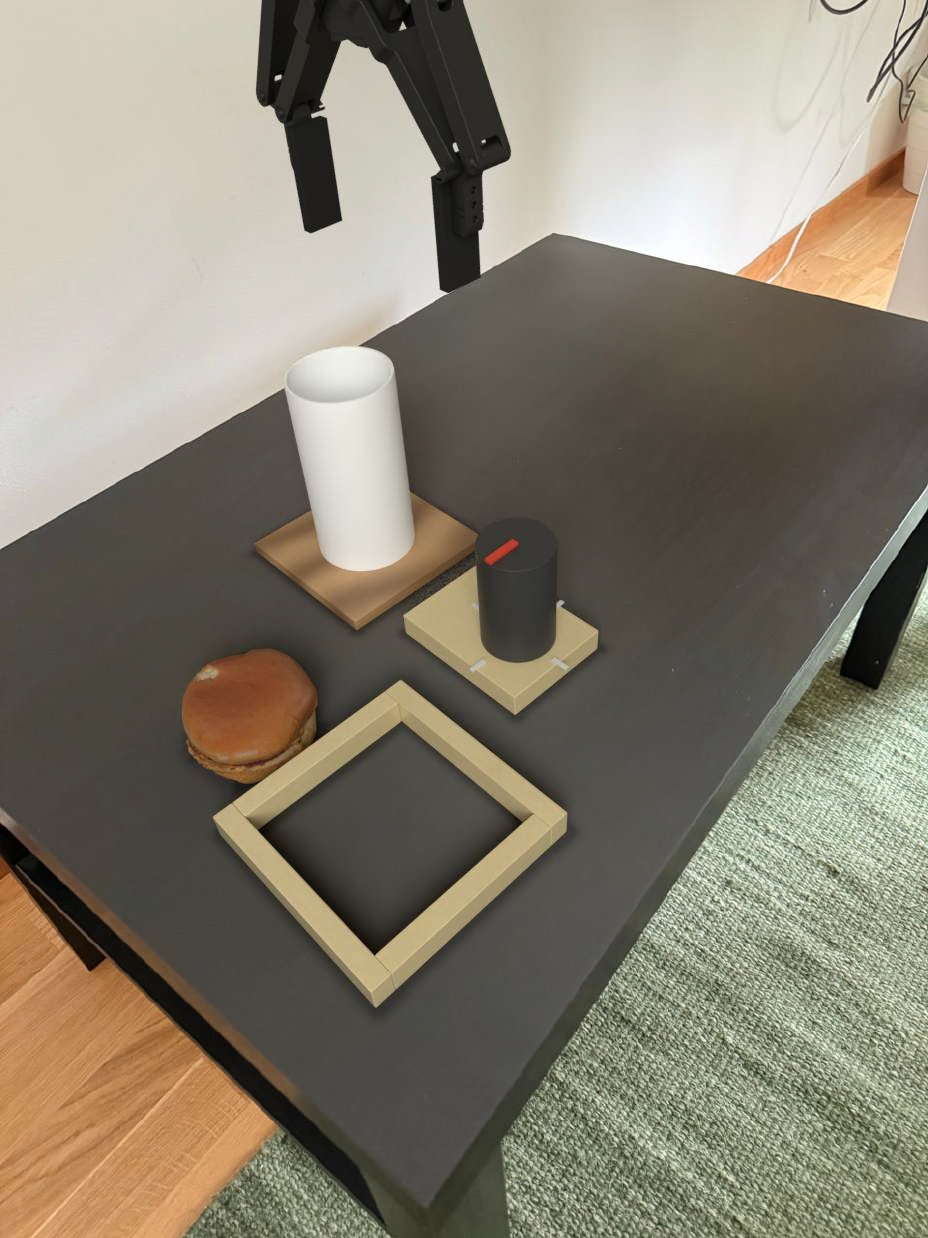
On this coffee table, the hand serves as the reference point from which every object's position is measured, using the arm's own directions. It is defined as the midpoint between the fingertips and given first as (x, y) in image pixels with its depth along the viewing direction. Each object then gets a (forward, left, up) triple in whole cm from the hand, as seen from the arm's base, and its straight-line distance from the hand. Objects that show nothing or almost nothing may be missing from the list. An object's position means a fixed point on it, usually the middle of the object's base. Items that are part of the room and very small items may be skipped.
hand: (387, 253), depth 60 cm
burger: (+4, -20, -27) cm, 34 cm away
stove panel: (+11, -2, -27) cm, 29 cm away
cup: (-5, -2, -26) cm, 26 cm away
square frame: (+18, -19, -27) cm, 37 cm away
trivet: (-5, -2, -27) cm, 27 cm away
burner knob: (+13, -2, -25) cm, 28 cm away
